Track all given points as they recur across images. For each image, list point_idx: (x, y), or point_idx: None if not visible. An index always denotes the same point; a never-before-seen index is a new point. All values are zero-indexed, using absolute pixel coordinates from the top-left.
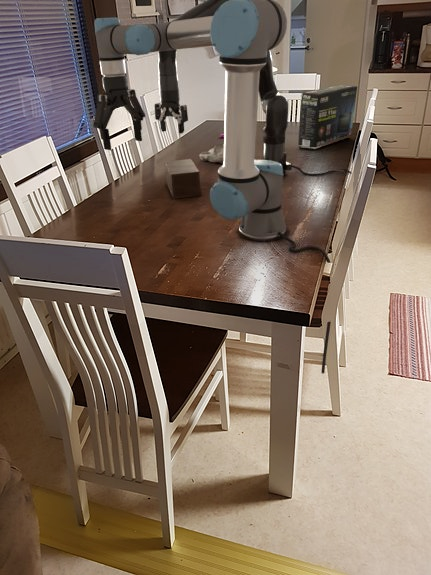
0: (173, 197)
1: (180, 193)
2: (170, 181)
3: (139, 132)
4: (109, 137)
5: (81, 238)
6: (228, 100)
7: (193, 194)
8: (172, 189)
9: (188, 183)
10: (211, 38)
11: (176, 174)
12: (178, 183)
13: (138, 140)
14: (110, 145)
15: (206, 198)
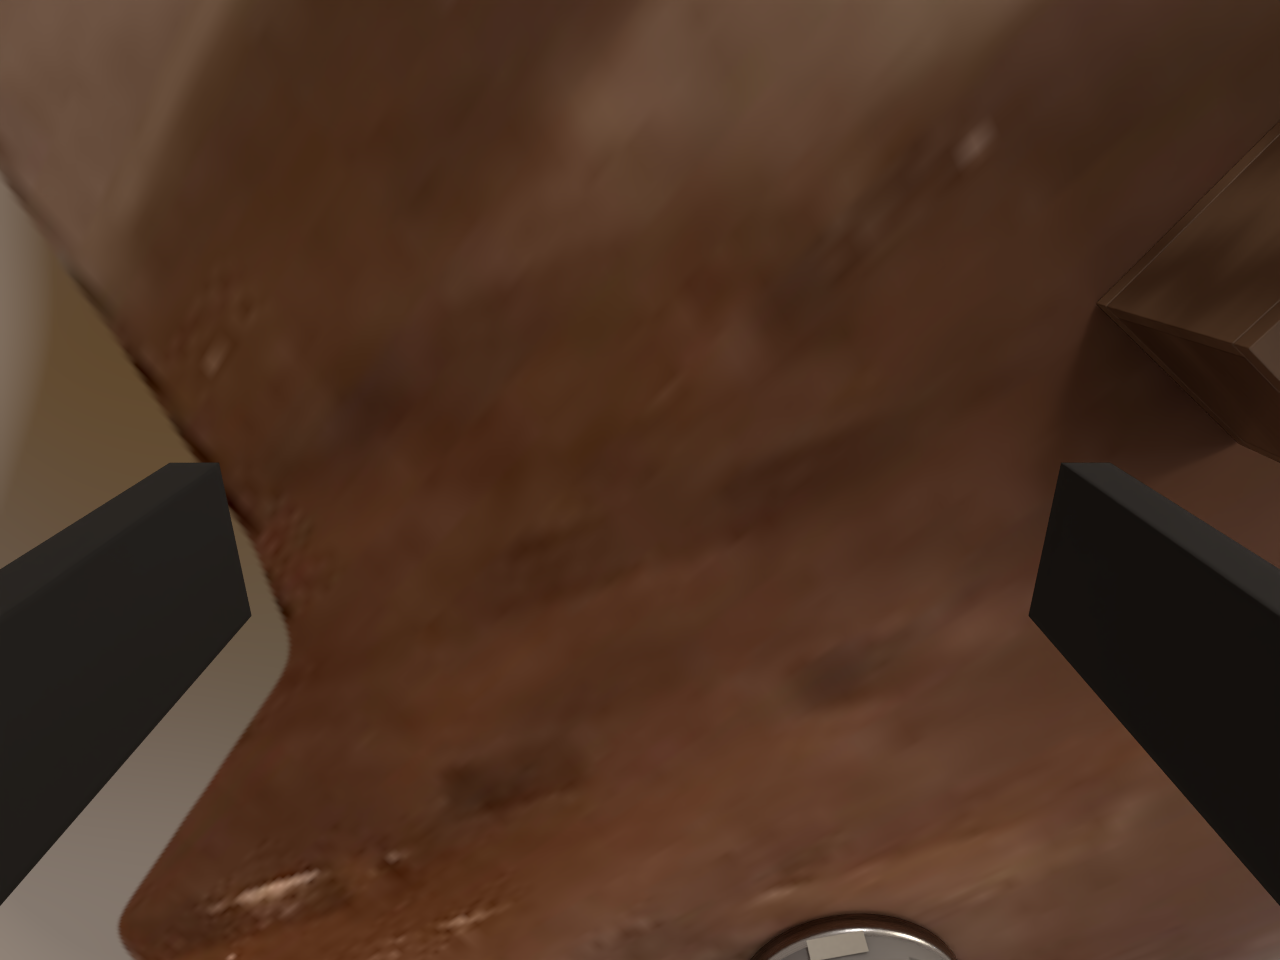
0: (1103, 306)
1: (1160, 352)
2: (1270, 232)
3: (1134, 731)
4: (93, 789)
5: (135, 297)
6: None
7: (1216, 413)
8: (1147, 314)
9: (1267, 421)
10: None
11: (1277, 383)
12: (1217, 366)
13: (1043, 568)
14: (195, 667)
15: (1196, 514)
